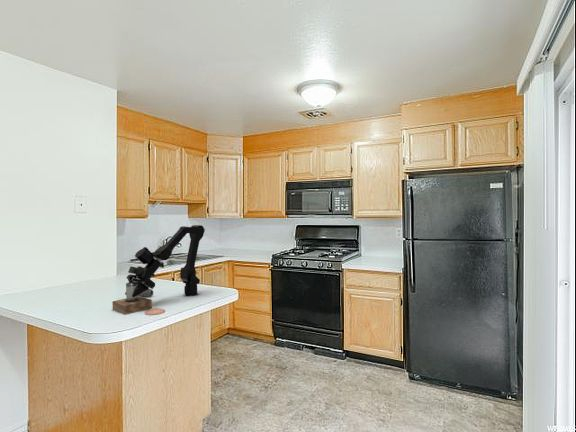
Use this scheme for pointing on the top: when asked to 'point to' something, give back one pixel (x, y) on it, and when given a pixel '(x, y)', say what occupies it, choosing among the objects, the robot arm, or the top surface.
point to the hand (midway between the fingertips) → (129, 295)
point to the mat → (155, 311)
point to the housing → (132, 305)
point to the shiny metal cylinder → (131, 292)
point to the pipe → (147, 293)
